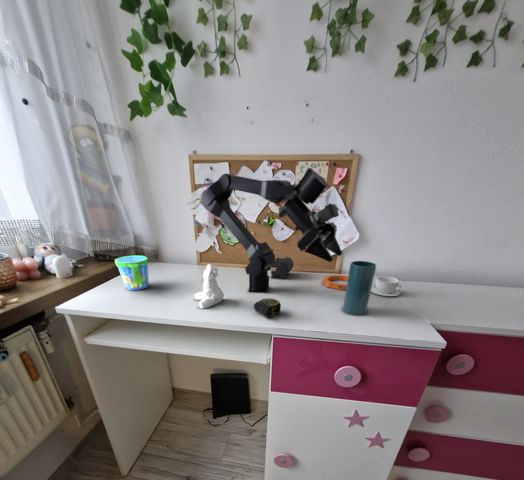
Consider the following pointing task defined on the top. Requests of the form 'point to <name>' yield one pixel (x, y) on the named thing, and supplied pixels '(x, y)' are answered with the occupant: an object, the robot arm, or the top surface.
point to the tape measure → (268, 307)
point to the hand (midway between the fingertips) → (336, 257)
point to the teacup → (386, 286)
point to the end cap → (281, 267)
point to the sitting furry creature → (210, 289)
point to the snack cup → (133, 271)
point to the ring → (334, 285)
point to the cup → (358, 287)
